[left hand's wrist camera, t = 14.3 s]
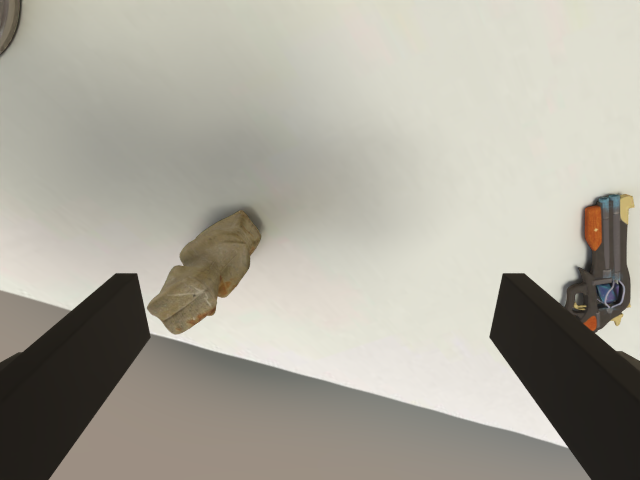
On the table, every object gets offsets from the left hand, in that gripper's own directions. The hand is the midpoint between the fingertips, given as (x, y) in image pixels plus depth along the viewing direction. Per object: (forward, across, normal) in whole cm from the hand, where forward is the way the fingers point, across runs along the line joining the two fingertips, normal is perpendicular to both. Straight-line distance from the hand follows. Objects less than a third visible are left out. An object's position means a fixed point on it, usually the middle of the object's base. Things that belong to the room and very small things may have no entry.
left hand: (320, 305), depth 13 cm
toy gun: (+27, -30, +12) cm, 42 cm away
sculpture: (+27, +10, +7) cm, 29 cm away
